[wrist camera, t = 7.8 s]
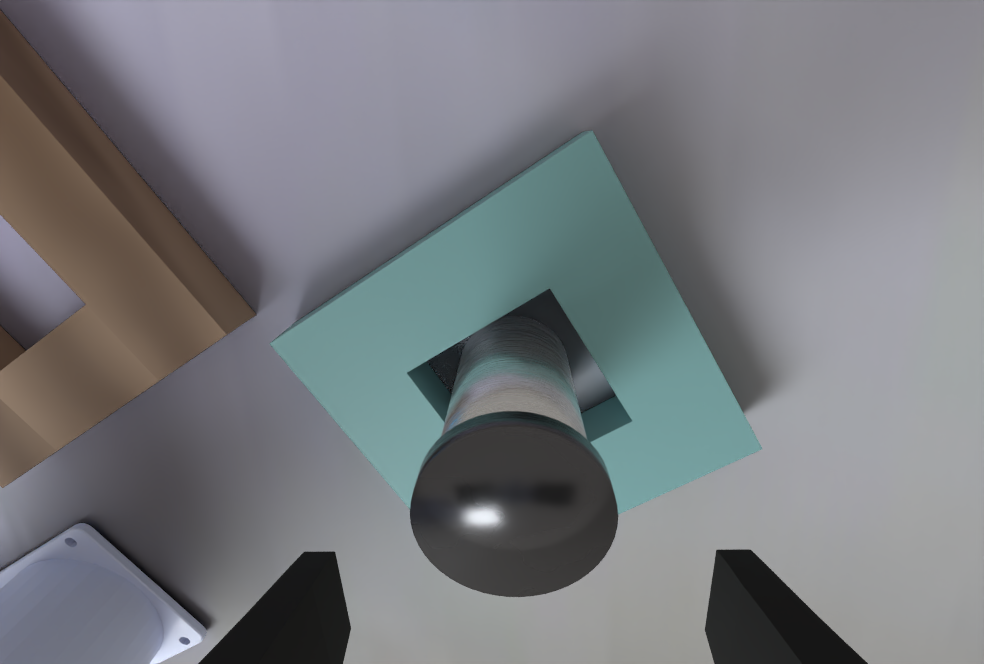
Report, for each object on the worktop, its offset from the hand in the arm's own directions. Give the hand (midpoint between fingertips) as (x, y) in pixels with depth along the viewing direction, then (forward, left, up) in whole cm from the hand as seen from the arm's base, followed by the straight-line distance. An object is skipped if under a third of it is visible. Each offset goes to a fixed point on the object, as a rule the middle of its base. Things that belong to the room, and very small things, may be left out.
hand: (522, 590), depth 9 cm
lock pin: (0, 0, -10) cm, 10 cm away
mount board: (-13, +13, -10) cm, 21 cm away
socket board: (0, 0, -10) cm, 10 cm away
